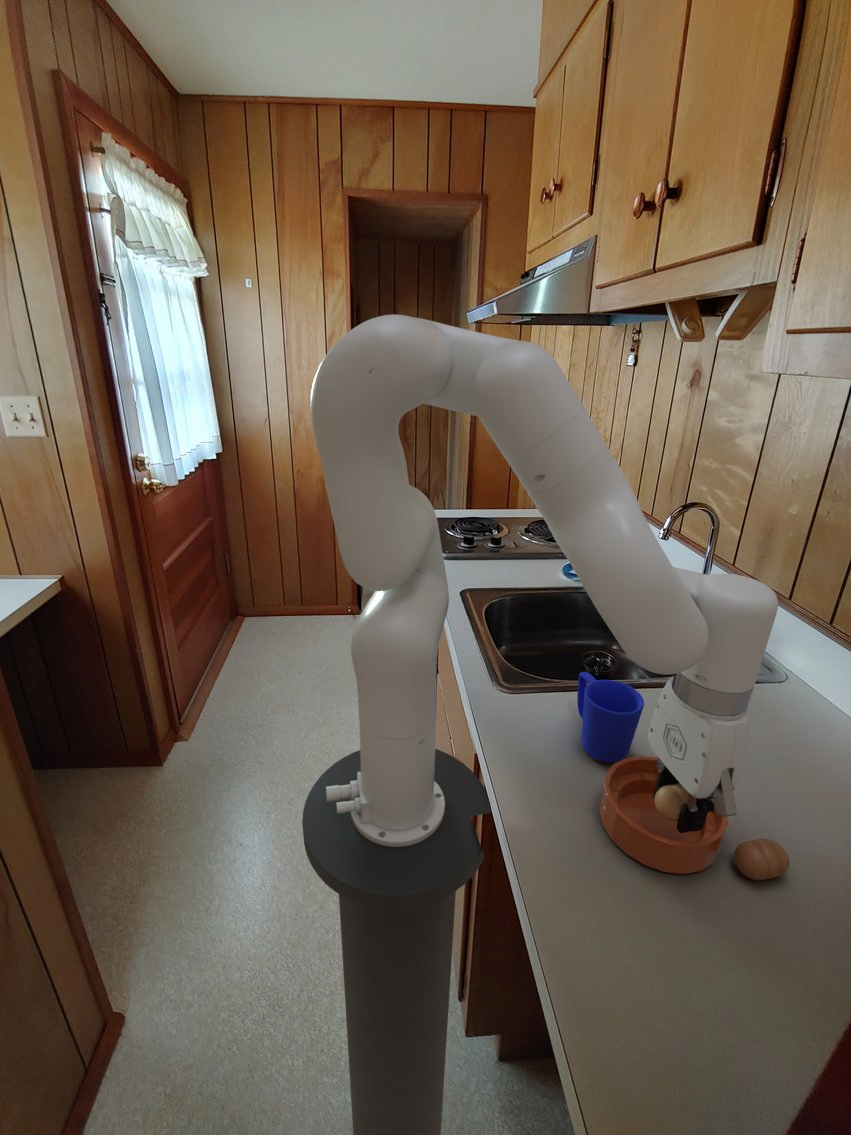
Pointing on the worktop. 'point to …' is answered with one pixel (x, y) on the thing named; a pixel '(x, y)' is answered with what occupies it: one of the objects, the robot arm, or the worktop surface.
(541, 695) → the worktop surface
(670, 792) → the egg light
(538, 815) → the worktop surface
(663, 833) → the bowl
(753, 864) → the egg dark
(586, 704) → the mug
